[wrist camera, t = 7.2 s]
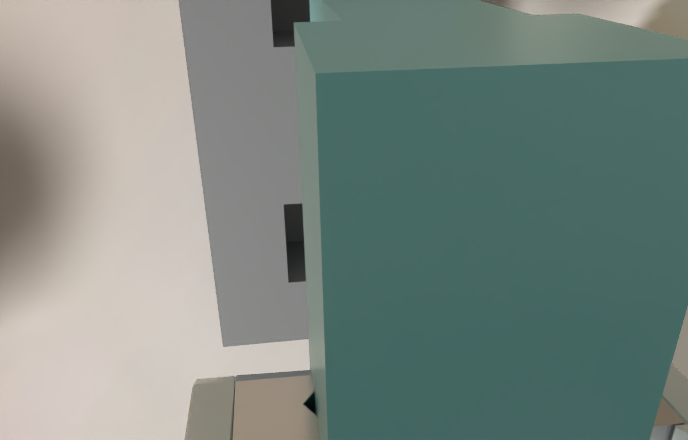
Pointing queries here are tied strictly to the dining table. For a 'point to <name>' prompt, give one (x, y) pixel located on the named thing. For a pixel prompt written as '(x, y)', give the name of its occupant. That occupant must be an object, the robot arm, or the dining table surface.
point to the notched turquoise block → (490, 220)
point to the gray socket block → (250, 161)
